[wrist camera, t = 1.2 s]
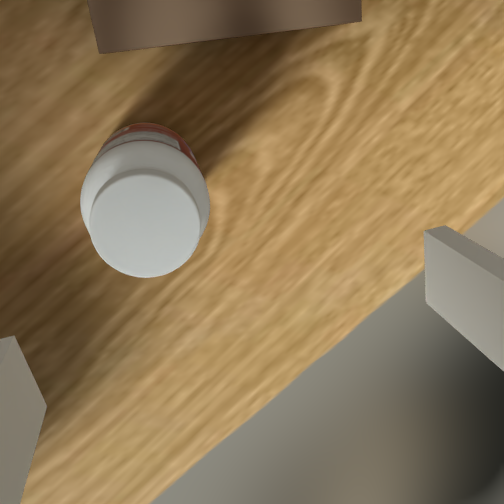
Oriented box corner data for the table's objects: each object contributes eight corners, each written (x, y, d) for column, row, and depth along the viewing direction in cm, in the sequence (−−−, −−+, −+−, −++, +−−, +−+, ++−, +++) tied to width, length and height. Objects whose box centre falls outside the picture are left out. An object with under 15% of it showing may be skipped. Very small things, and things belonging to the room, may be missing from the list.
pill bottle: (190, 221, 32) (208, 299, 22) (94, 211, 30) (66, 290, 20) (203, 128, 30) (229, 167, 20) (100, 112, 28) (72, 145, 18)
